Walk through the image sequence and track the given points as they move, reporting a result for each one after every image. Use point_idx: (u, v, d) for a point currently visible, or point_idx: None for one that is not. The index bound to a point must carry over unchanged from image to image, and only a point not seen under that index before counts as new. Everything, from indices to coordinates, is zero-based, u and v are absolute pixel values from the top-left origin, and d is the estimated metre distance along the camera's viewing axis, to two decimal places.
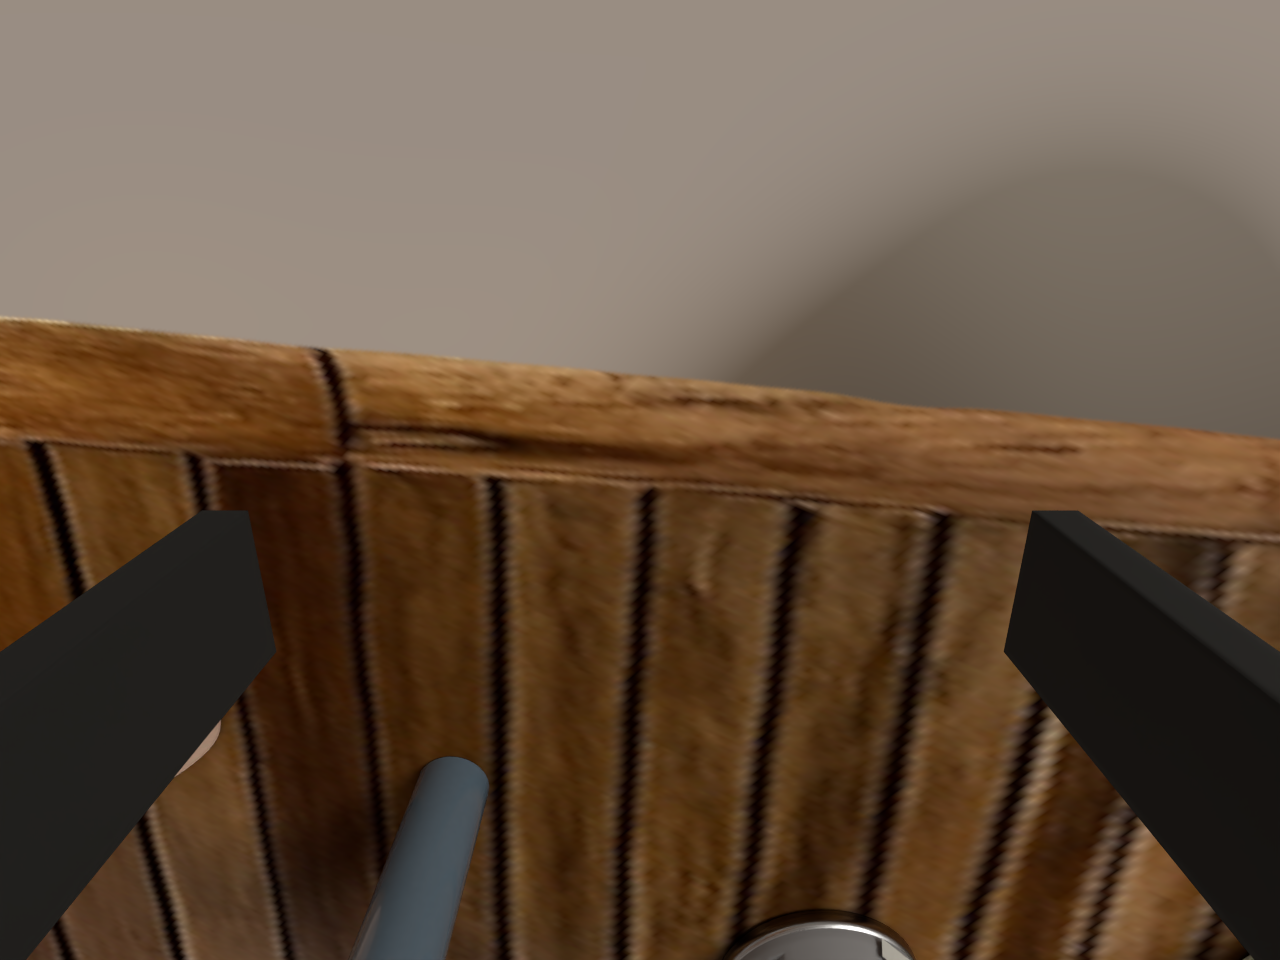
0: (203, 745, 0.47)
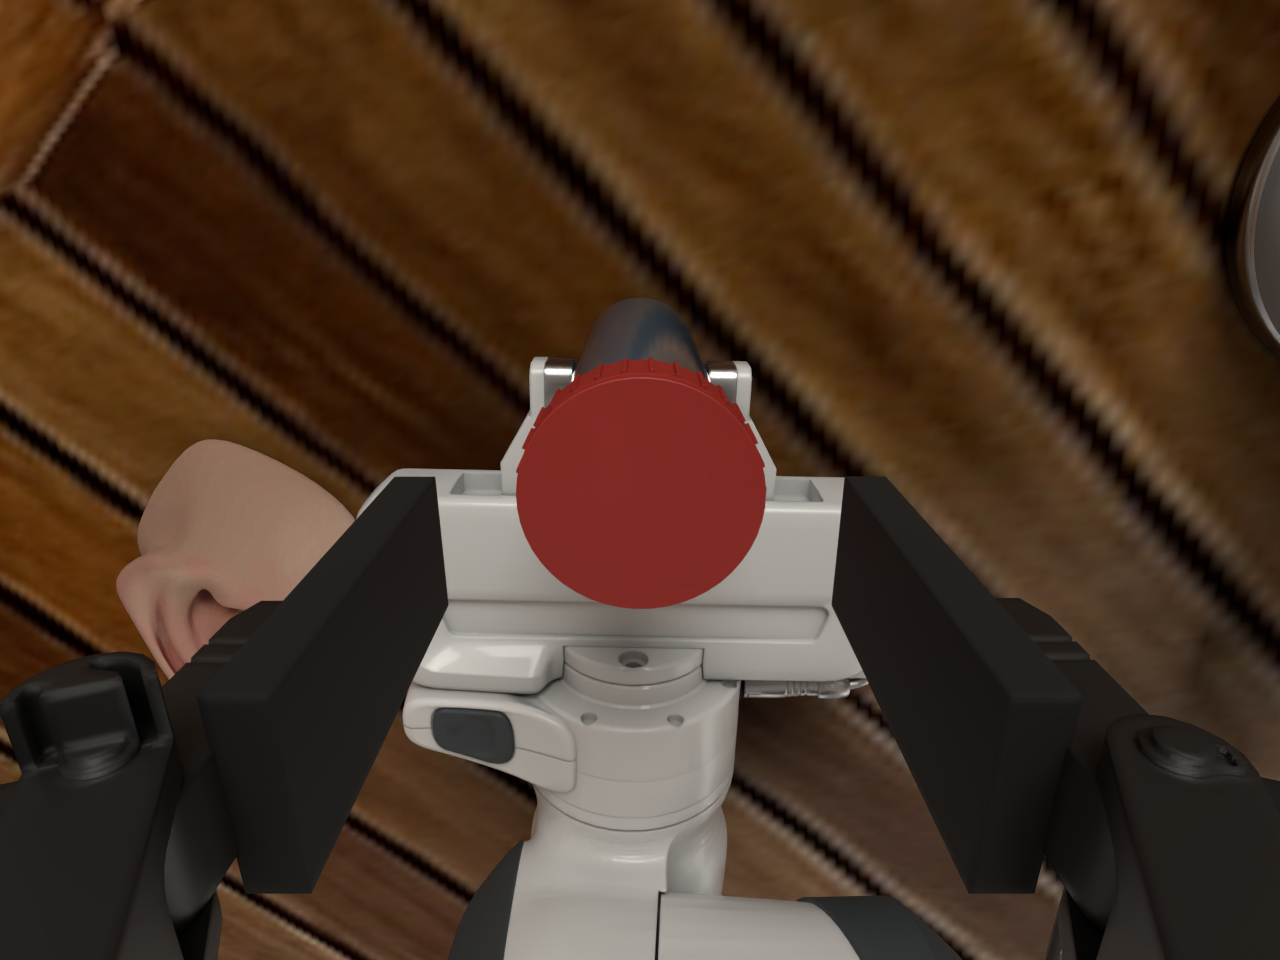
0: None
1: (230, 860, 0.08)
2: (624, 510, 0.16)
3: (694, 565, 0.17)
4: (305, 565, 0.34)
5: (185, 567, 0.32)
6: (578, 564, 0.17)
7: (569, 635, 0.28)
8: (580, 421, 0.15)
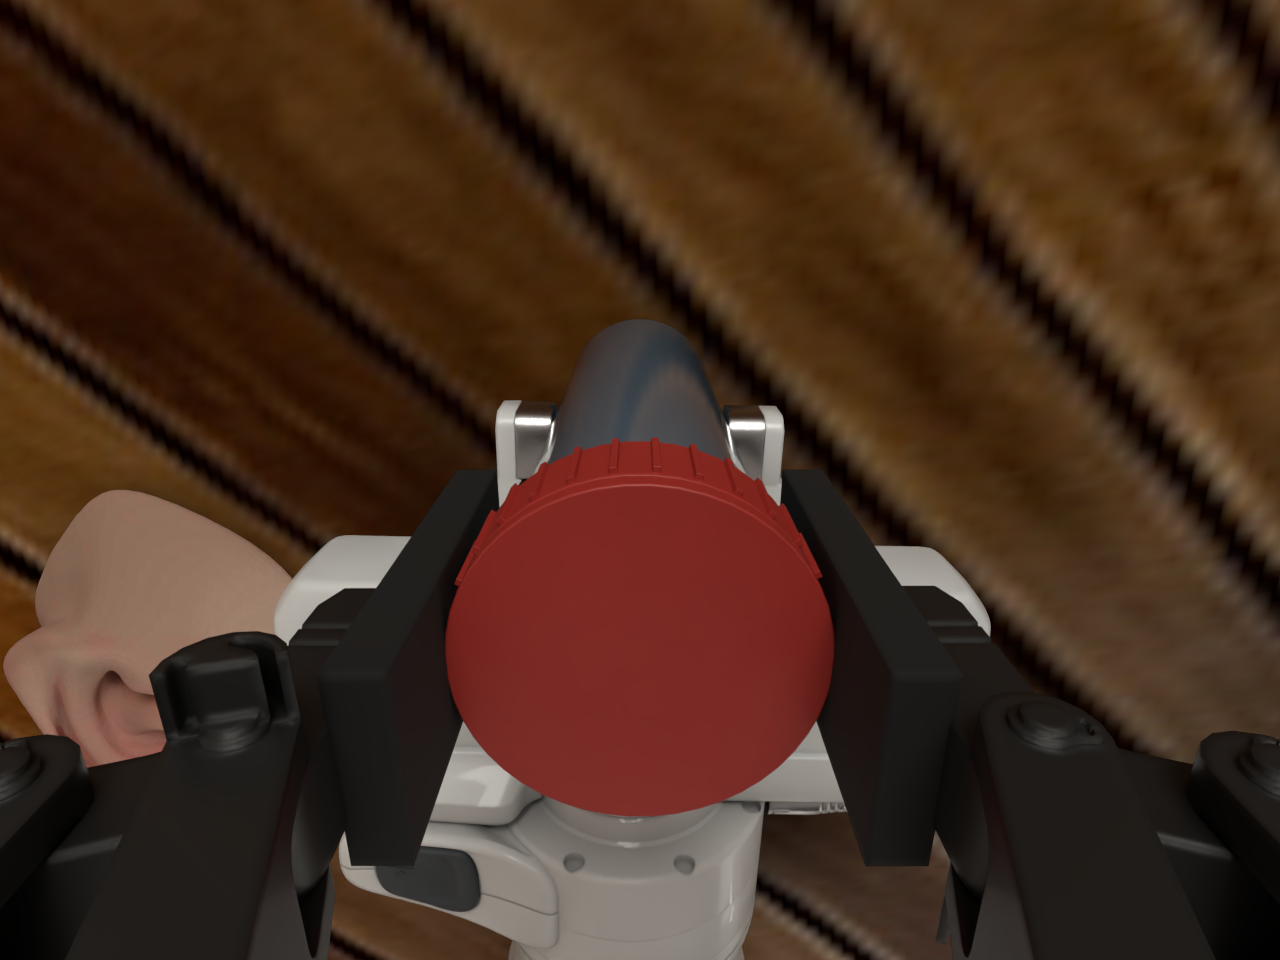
0: None
1: (341, 833, 0.08)
2: (614, 680, 0.10)
3: (721, 757, 0.11)
4: None
5: (84, 647, 0.26)
6: (544, 756, 0.11)
7: None
8: (543, 551, 0.10)
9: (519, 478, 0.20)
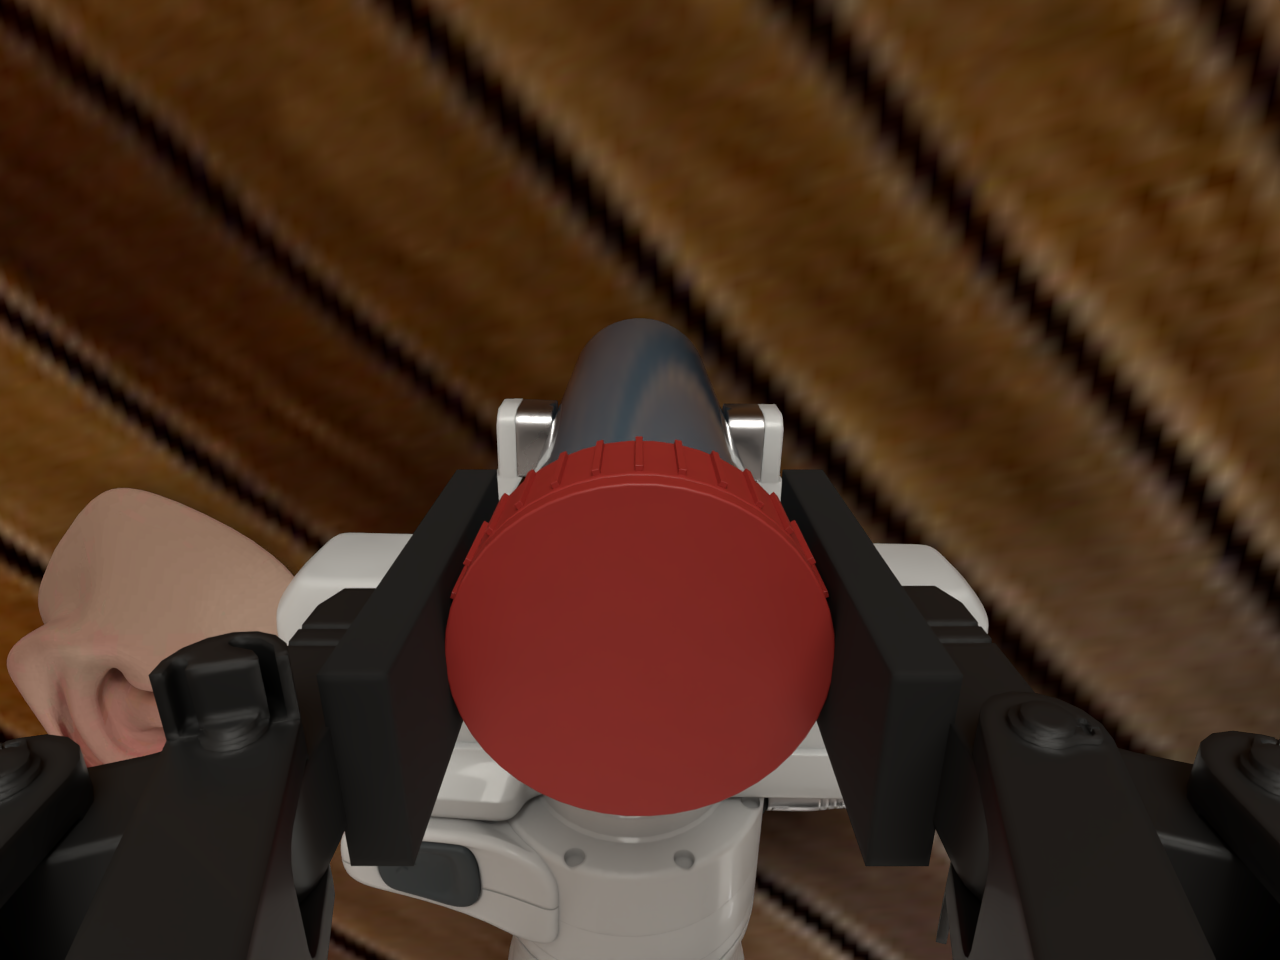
0: None
1: (341, 831, 0.08)
2: (656, 687, 0.10)
3: (759, 592, 0.10)
4: None
5: (87, 644, 0.27)
6: (744, 748, 0.11)
7: None
8: (515, 738, 0.11)
9: (520, 475, 0.20)
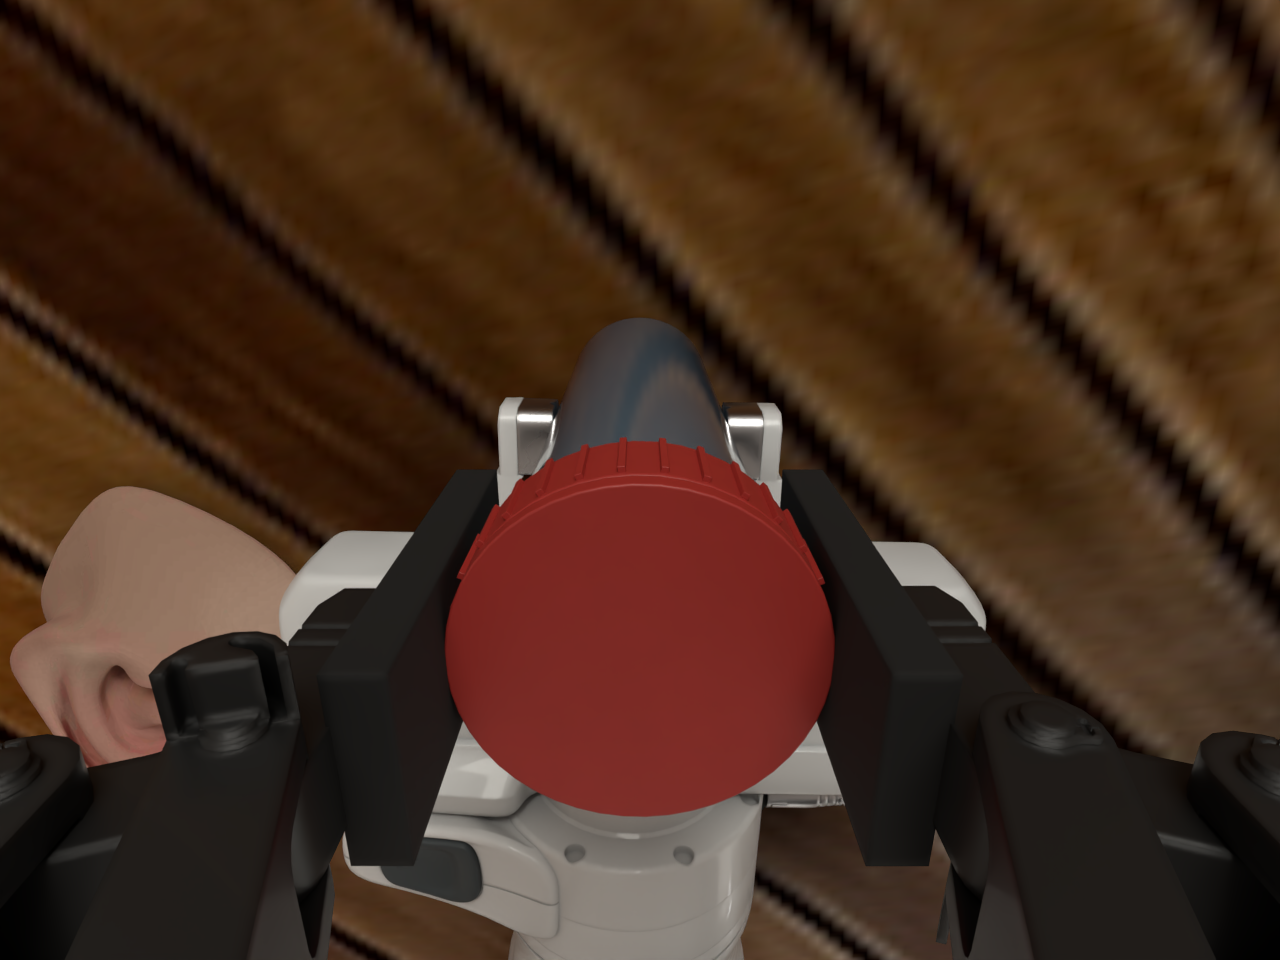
0: None
1: (341, 833, 0.08)
2: (666, 652, 0.10)
3: (553, 562, 0.10)
4: None
5: (90, 642, 0.27)
6: (750, 570, 0.10)
7: None
8: (720, 771, 0.11)
9: (521, 474, 0.20)
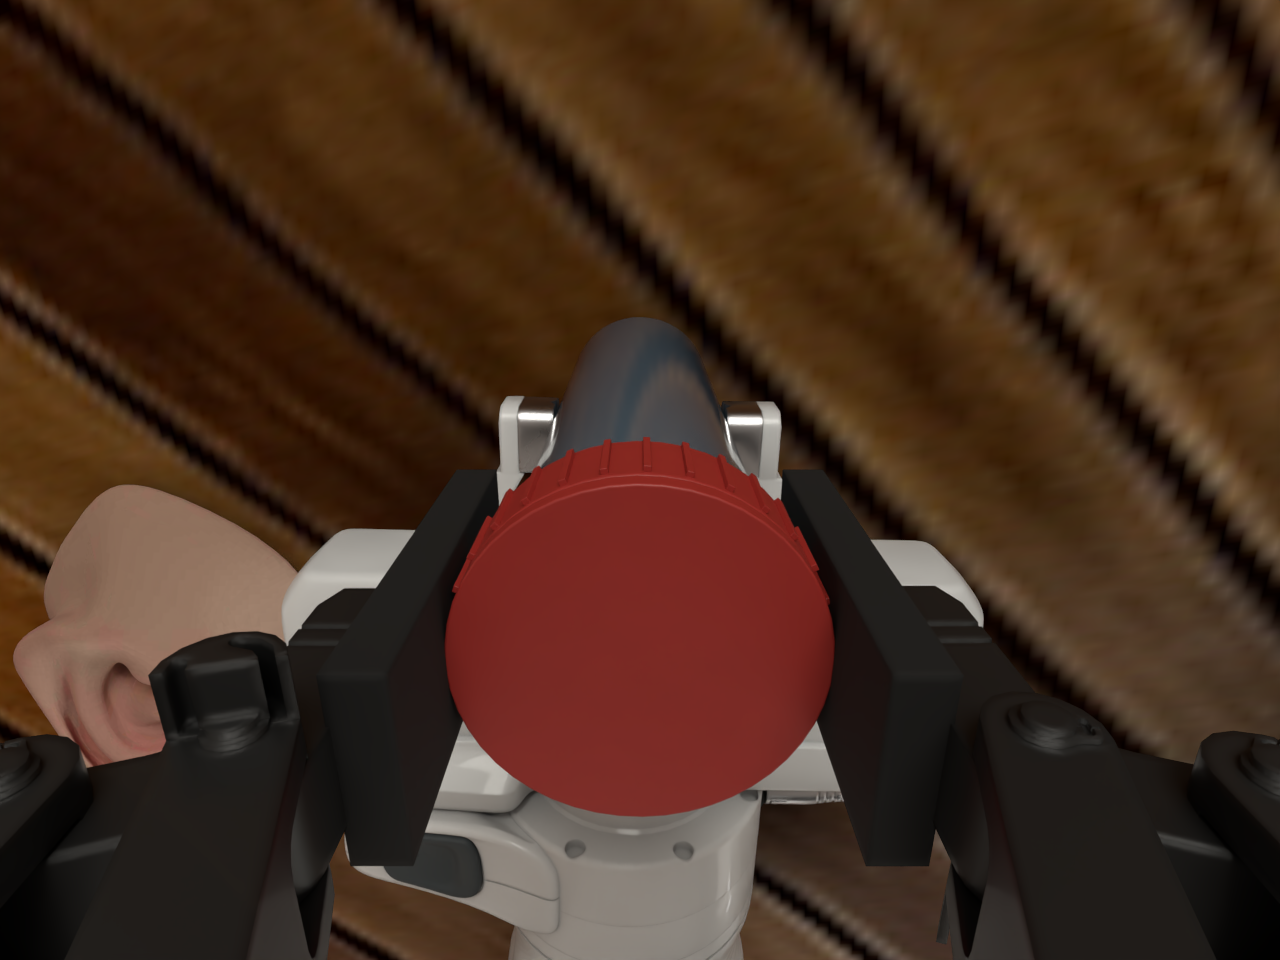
0: None
1: (341, 833, 0.08)
2: (623, 643, 0.10)
3: (525, 731, 0.11)
4: None
5: (93, 639, 0.27)
6: (528, 571, 0.10)
7: None
8: (778, 593, 0.10)
9: (521, 472, 0.20)
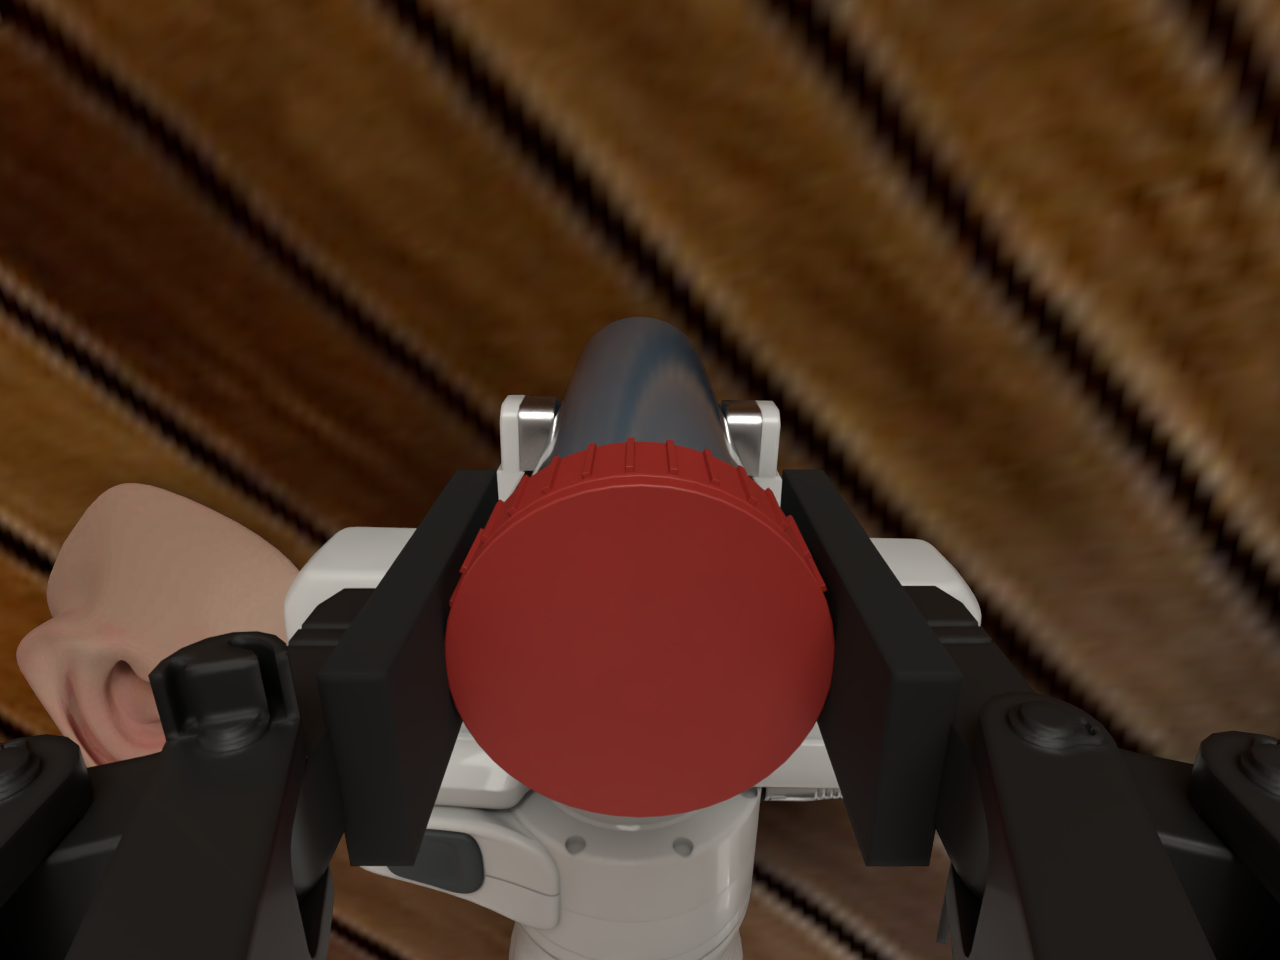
0: None
1: (341, 832, 0.08)
2: (612, 679, 0.10)
3: (712, 763, 0.11)
4: (243, 631, 0.28)
5: (96, 637, 0.27)
6: (536, 750, 0.11)
7: None
8: (554, 545, 0.10)
9: (522, 470, 0.20)
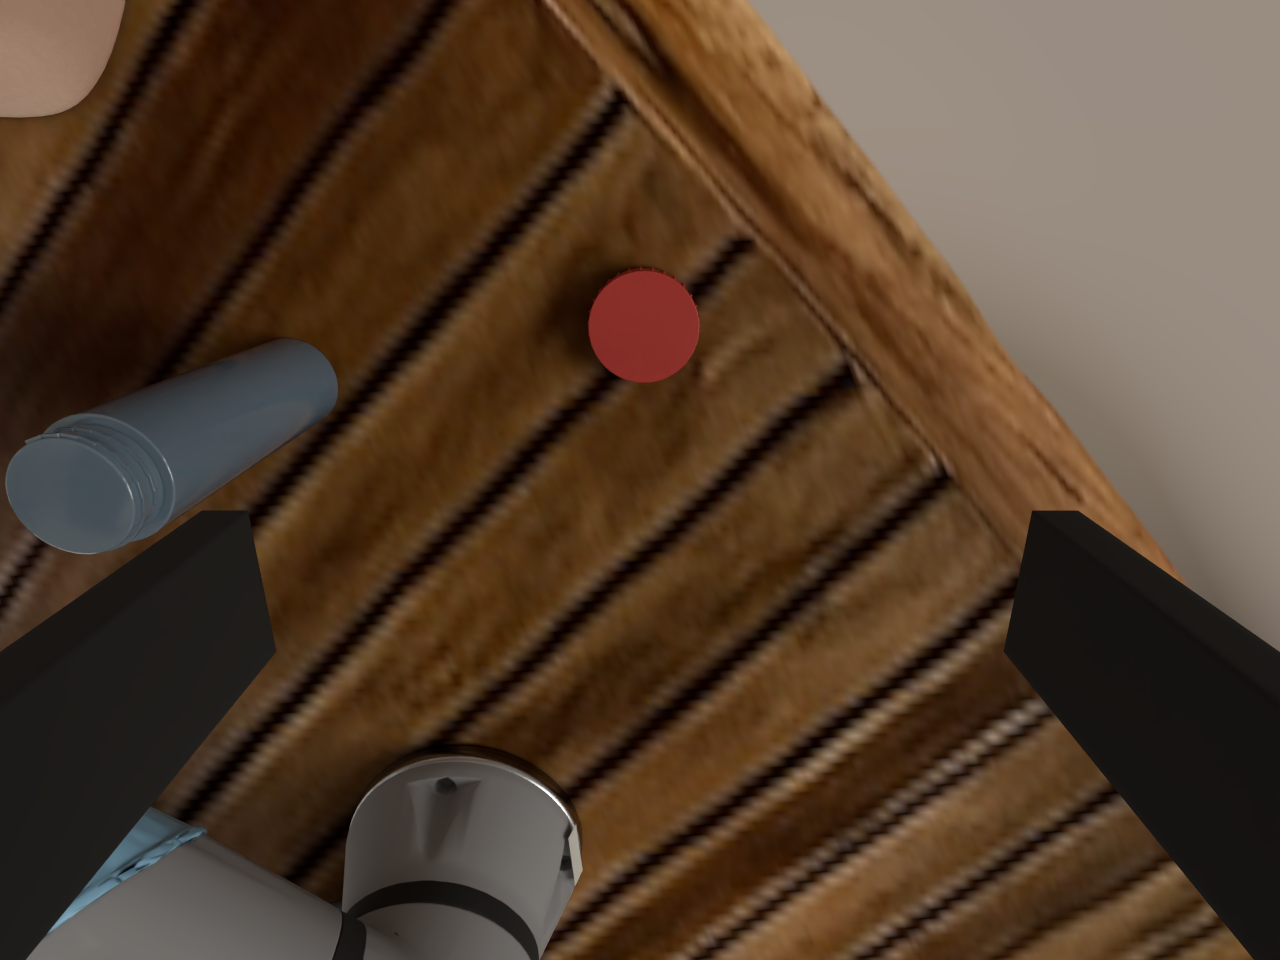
0: (40, 103, 0.34)
1: None
2: (636, 332, 0.36)
3: (665, 362, 0.37)
4: (1, 52, 0.32)
5: None
6: (613, 357, 0.37)
7: None
8: (620, 289, 0.36)
9: None
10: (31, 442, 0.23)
